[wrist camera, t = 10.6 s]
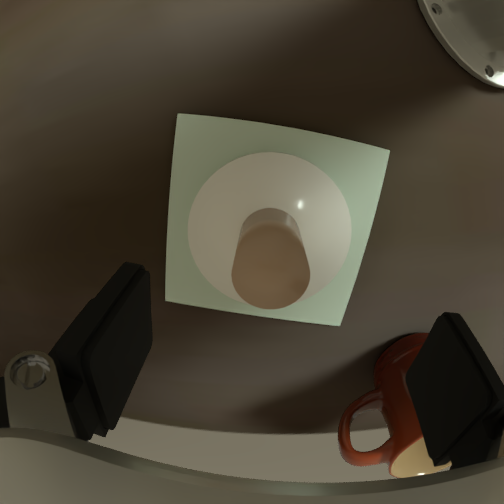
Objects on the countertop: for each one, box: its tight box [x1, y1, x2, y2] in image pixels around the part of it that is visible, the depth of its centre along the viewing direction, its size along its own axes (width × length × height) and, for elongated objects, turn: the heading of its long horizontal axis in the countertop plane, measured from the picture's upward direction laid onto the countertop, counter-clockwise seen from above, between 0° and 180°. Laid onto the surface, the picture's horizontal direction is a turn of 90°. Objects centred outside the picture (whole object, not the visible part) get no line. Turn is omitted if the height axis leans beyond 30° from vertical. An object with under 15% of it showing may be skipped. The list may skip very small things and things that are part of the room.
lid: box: [188, 151, 352, 309], centre depth 17 cm, size 10×10×6 cm
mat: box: [165, 113, 390, 326], centre depth 20 cm, size 13×13×1 cm
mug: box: [338, 333, 452, 478], centre depth 20 cm, size 12×9×10 cm
